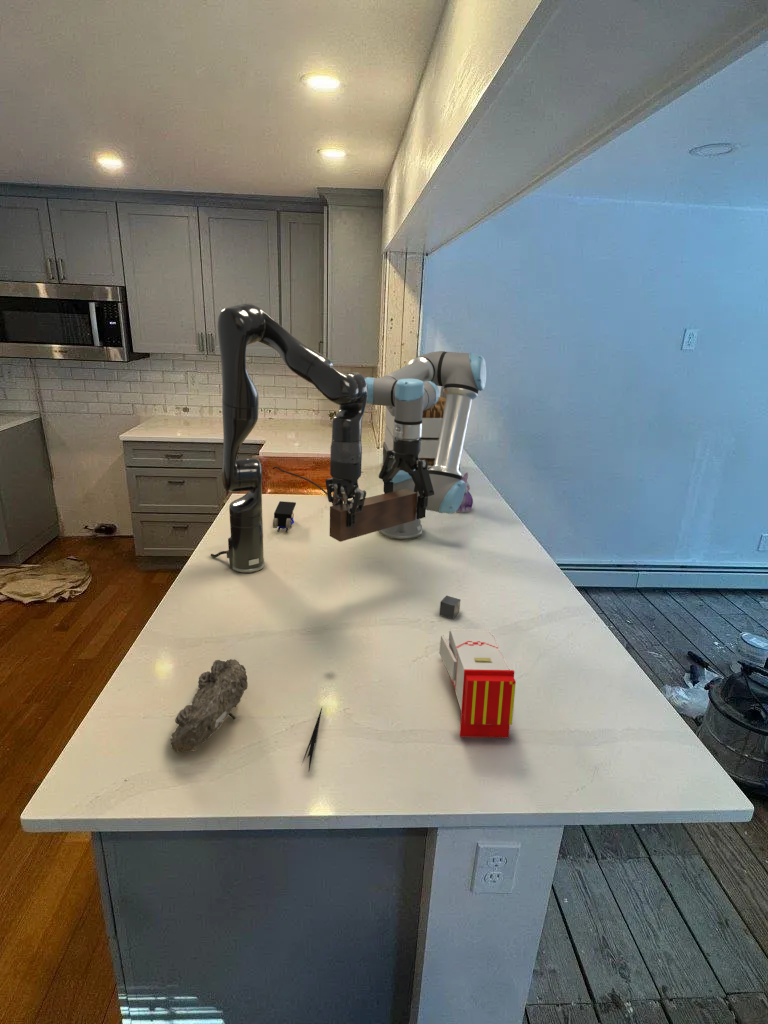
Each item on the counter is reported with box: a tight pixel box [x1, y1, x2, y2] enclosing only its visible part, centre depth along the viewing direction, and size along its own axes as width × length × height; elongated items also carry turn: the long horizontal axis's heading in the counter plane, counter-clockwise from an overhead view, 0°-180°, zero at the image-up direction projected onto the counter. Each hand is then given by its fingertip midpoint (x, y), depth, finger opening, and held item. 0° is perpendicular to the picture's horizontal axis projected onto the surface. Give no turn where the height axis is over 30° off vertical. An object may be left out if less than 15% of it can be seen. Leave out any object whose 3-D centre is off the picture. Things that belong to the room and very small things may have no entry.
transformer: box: [381, 386, 462, 473], centre depth 268 cm, size 34×33×41 cm
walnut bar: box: [329, 489, 417, 543], centre depth 149 cm, size 26×4×8 cm, turn 131°
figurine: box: [455, 472, 474, 514], centre depth 225 cm, size 9×10×15 cm
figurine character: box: [272, 500, 297, 533], centre depth 200 cm, size 7×8×15 cm
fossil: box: [170, 658, 249, 753], centre depth 106 cm, size 22×10×15 cm
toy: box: [438, 628, 517, 738], centre depth 117 cm, size 12×13×30 cm
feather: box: [301, 673, 332, 771], centre depth 108 cm, size 2×28×2 cm
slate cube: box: [439, 595, 461, 620], centre depth 148 cm, size 4×4×4 cm
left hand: (344, 523), depth 142 cm, fingers closed on walnut bar, 4 cm apart
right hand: (404, 510), depth 161 cm, fingers open, 13 cm apart
